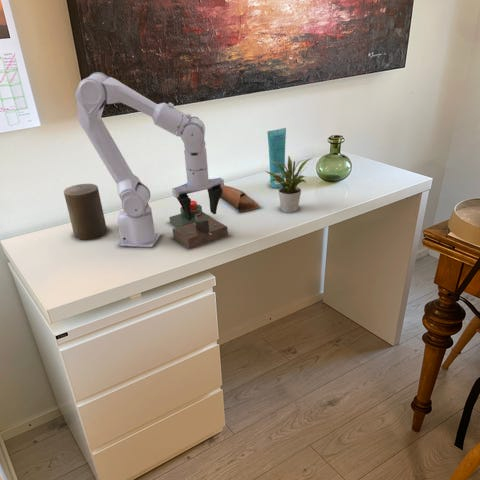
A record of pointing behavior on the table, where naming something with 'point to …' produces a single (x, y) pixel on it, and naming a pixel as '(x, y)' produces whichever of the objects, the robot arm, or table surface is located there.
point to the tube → (276, 153)
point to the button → (193, 205)
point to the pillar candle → (85, 211)
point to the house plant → (289, 186)
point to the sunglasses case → (238, 199)
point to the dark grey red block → (201, 223)
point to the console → (199, 233)
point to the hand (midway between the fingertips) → (201, 216)
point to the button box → (181, 218)
